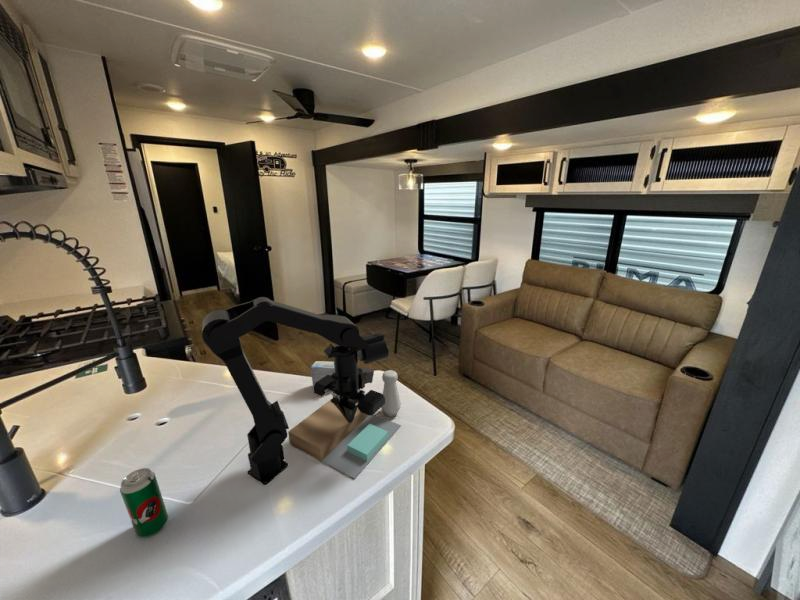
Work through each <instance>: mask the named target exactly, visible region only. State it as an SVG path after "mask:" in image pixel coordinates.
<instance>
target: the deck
mask: <svg viewBox="0 0 800 600" xmlns="http://www.w3.org/2000/svg"><path fill="white" fill-rule="evenodd" d="M368 416H369V415H367V414H364V413H362V412H360V410H359V409H358V408H357V410H356V413H355V416H354V419H353V421H352V422H351V423H349V422H347V420H346V419H345V418H344V416H343V415H342V413H341V412H340V411H339V410H338V408H337V407H336V406H335V405H334V404H333V403H332V402H331V399H329V400H328V401H326V402H325V403H324V404H322V405H321V406H320V407H318V409H316V410H315V411H313V412H312V413H311V414H310V415H308V416H307V417H306V418H304V419H303V420H301V421H300V422H299V423H297V424H296V425H295V426H294V427H293V428H291V429H290V430H288V432H287V435H288V441H289V445H290V446H292V447H293V448H296V449H297V450H299V451H301V452H303V453H305V454H307V455H309V456H311V457H312V458H314V459H317V460H318V461H319V462H321V463H323V462H322V460H323V459H324V458H325V457H326V456H327V455H328V454H329V453H330V452H331V451H332V450H333V449H334V448H335V447H336V446H338V445H339V444H340V443H341V442H342V441H343V440H344V439H345V438H346V437H347V436H348V435H349V434H350V433H351V432H352V431H353V430H354V429H355V428H356V427H357V426H359V425H360V424H361V423H362V422H363V421H364V420H365V419H366V418H367V417H368Z"/></svg>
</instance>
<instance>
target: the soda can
mask: <svg viewBox="0 0 800 600" xmlns="http://www.w3.org/2000/svg"><path fill="white" fill-rule="evenodd" d="M119 492H120V495H121V498H122V500H123V503H124V505H125V509H126V511H127V513H128V516H129V519H130V523H131V524H132V527H133V530H134V533H135V535H136V536H137V537H138V538H139V537H140V538H148V537H151V536H153V535H155V534H156V533H158V532H159V531H160V530H162V529H163V528H164V527H165V525H166V523H167V522H168V519H169V513H168V510H167V508H166V505H165V502H164V498H163V495H162V491H161V489H160V486H159V483H158V479H157V477H156V473H155V472H154V471H152V470H151V469H150V468H148V467H143V468H140V469H136V470H134V471H132V472H130V473H128V474H127V475H126V476H125V477H124V478H123V479H122V480H121V483H120V488H119Z"/></svg>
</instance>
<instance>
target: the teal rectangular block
mask: <svg viewBox="0 0 800 600" xmlns="http://www.w3.org/2000/svg"><path fill="white" fill-rule="evenodd" d="M387 439H388V431H386V430H383V429H381V428H379V427H376V426H374V425H372V424H369V425H368V426H367V427H366V428H365V429H363V430H362V431H361V432H360V433H359V434H358V435H357V436H356V437H355V438H354V439H353V440H352V441H351V442H350V443H349V444H348V445H347V448H348V452H349V453H351V454H353V455H355V456H357V457H359V458H361V459H363V460H365V461H368V460H369V459H370V458H371V457H372V456H373V455H374V454H375V452H376V451H377V450H378V449H379V448H380V447H381V446H382V445H383V444H384V442H385V441H386V440H387Z"/></svg>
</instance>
